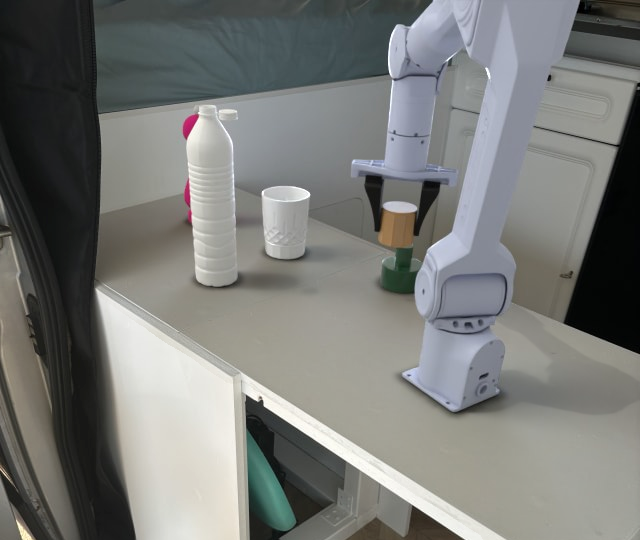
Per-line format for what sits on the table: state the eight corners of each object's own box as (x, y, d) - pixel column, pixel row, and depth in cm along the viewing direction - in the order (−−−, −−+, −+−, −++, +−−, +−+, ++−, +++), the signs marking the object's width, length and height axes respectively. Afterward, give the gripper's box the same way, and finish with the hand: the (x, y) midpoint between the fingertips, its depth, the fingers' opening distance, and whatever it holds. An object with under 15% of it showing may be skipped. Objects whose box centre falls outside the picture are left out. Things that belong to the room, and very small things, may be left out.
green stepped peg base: (428, 287, 104) (434, 248, 100) (397, 296, 101) (402, 256, 97) (402, 273, 108) (407, 234, 104) (372, 281, 105) (375, 241, 101)
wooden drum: (420, 243, 96) (425, 209, 92) (393, 250, 93) (397, 215, 90) (398, 232, 99) (402, 199, 96) (371, 238, 96) (374, 204, 93)
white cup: (302, 263, 109) (303, 203, 103) (256, 258, 110) (255, 198, 104) (312, 246, 115) (314, 188, 109) (268, 241, 116) (268, 183, 110)
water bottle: (187, 277, 103) (173, 103, 88) (219, 266, 107) (211, 98, 92) (223, 296, 98) (214, 116, 83) (255, 284, 102) (252, 109, 87)
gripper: (463, 129, 89) (447, 227, 97) (358, 120, 91) (351, 217, 99) (464, 142, 84) (447, 244, 92) (352, 132, 85) (345, 233, 93)
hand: (397, 231), depth 95 cm, fingers closed on wooden drum, 5 cm apart
